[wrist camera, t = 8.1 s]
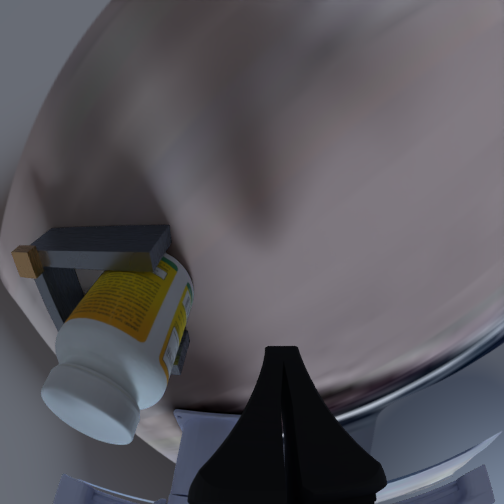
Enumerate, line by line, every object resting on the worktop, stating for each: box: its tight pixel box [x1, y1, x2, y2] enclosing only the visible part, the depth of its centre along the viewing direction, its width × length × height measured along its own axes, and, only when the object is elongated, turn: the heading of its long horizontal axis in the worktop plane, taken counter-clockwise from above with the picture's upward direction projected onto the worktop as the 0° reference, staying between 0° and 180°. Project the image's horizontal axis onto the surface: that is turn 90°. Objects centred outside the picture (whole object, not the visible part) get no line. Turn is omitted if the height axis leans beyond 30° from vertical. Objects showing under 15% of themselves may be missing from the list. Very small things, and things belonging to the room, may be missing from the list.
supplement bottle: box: [41, 253, 194, 445], centre depth 12 cm, size 5×5×10 cm
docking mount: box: [11, 225, 190, 375], centre depth 15 cm, size 9×9×4 cm
